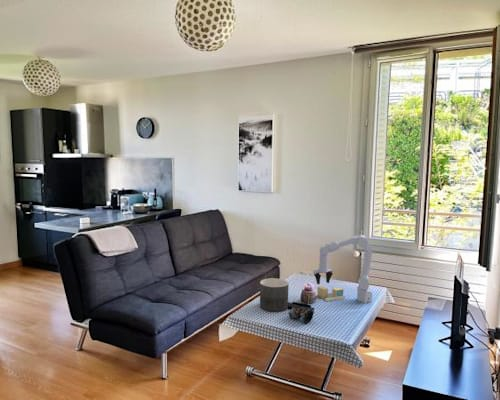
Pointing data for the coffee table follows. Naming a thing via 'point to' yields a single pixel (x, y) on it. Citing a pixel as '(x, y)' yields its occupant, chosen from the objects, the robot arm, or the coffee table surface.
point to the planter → (274, 294)
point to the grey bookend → (331, 297)
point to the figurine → (301, 314)
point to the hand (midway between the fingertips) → (322, 283)
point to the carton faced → (337, 292)
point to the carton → (322, 291)
